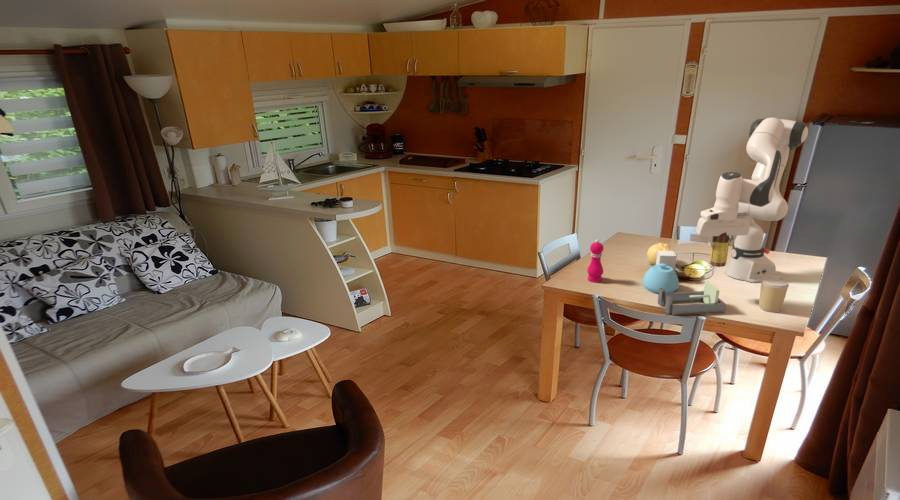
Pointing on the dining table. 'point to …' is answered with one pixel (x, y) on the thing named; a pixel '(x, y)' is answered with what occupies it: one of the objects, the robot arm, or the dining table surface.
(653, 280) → the blue upside-down bowl
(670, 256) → the supplement box
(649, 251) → the sculpture
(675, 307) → the gray storage tray
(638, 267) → the dining table surface
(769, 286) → the coffee cup
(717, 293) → the pusher
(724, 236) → the sauce bottle
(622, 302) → the dining table surface
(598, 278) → the pepper mill
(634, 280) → the dining table surface
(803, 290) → the dining table surface
